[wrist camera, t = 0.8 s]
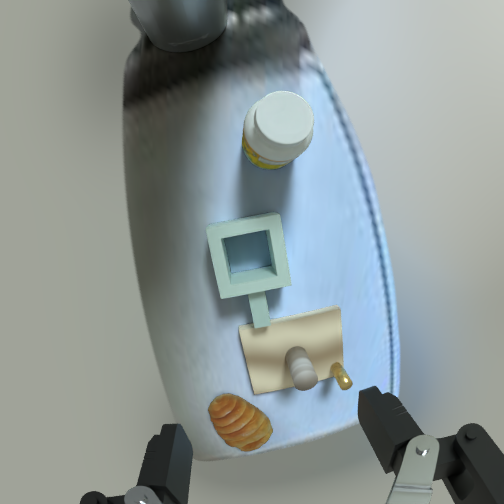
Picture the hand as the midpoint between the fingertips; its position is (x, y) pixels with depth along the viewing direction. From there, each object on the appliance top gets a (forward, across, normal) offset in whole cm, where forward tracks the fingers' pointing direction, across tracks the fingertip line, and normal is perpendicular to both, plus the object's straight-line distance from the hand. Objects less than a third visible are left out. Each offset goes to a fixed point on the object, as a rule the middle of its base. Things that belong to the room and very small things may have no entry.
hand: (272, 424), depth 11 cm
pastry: (+19, +5, +18) cm, 27 cm away
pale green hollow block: (+19, -1, -2) cm, 19 cm away
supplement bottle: (+19, -4, -14) cm, 24 cm away
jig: (+19, -4, +9) cm, 21 cm away
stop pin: (+17, -8, +12) cm, 23 cm away
